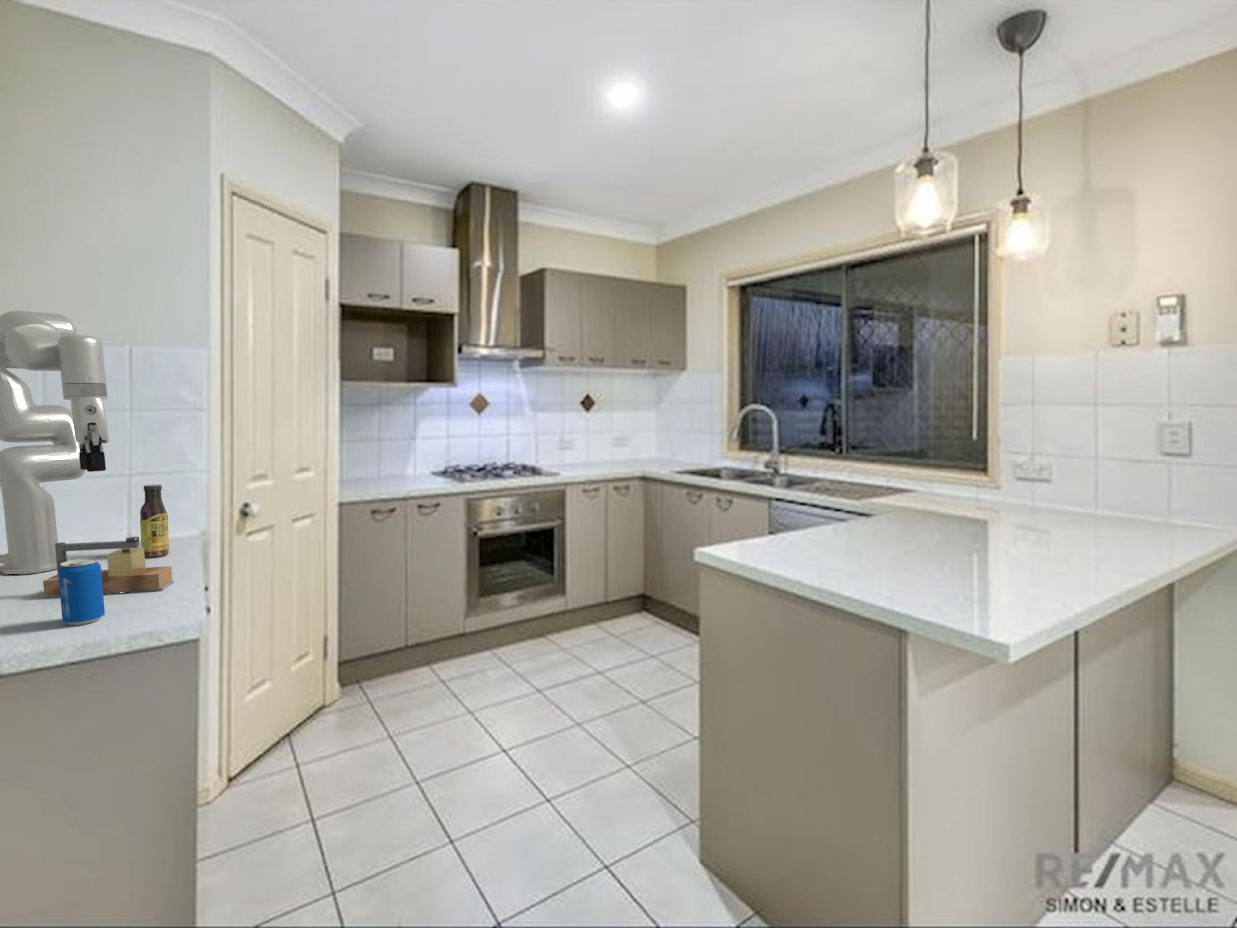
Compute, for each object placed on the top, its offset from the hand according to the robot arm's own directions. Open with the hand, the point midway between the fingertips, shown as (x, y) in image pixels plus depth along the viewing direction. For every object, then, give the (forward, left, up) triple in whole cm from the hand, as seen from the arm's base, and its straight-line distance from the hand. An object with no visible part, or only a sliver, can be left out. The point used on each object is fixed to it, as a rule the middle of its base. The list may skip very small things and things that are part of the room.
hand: (93, 470), depth 142 cm
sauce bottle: (-3, +35, -28) cm, 45 cm away
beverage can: (+6, -21, -28) cm, 35 cm away
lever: (-1, +1, -24) cm, 24 cm away
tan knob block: (+4, +1, -24) cm, 24 cm away
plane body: (+1, +1, -28) cm, 28 cm away
